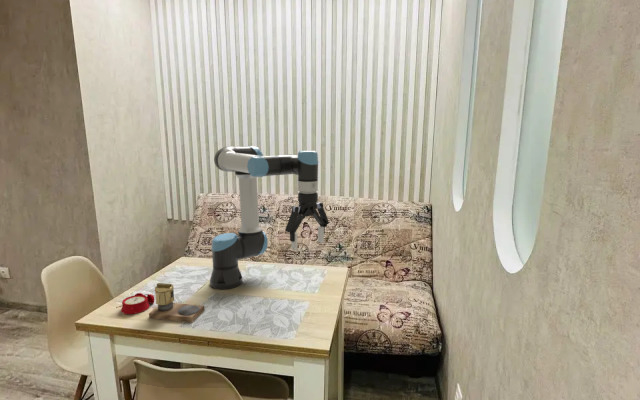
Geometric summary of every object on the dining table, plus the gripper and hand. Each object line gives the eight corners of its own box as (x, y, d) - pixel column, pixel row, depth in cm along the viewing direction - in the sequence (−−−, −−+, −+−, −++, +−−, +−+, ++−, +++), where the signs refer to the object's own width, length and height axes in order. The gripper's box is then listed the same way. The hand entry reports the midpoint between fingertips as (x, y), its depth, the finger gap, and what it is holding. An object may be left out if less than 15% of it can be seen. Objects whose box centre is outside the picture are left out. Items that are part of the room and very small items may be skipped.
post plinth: (149, 318, 143) (147, 295, 142) (164, 306, 153) (162, 284, 151) (191, 322, 140) (190, 298, 138) (204, 310, 150) (203, 288, 148)
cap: (152, 304, 144) (150, 286, 142) (162, 296, 150) (161, 280, 149) (168, 305, 142) (166, 288, 141) (178, 298, 149) (176, 281, 148)
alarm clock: (112, 305, 146) (138, 283, 159) (116, 318, 148) (141, 295, 162) (134, 309, 143) (158, 286, 156) (138, 321, 146) (162, 298, 159)
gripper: (287, 196, 129) (288, 254, 133) (338, 189, 146) (337, 241, 150) (275, 194, 134) (276, 250, 138) (325, 187, 151) (324, 237, 155)
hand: (307, 245), depth 144 cm, fingers open, 13 cm apart
